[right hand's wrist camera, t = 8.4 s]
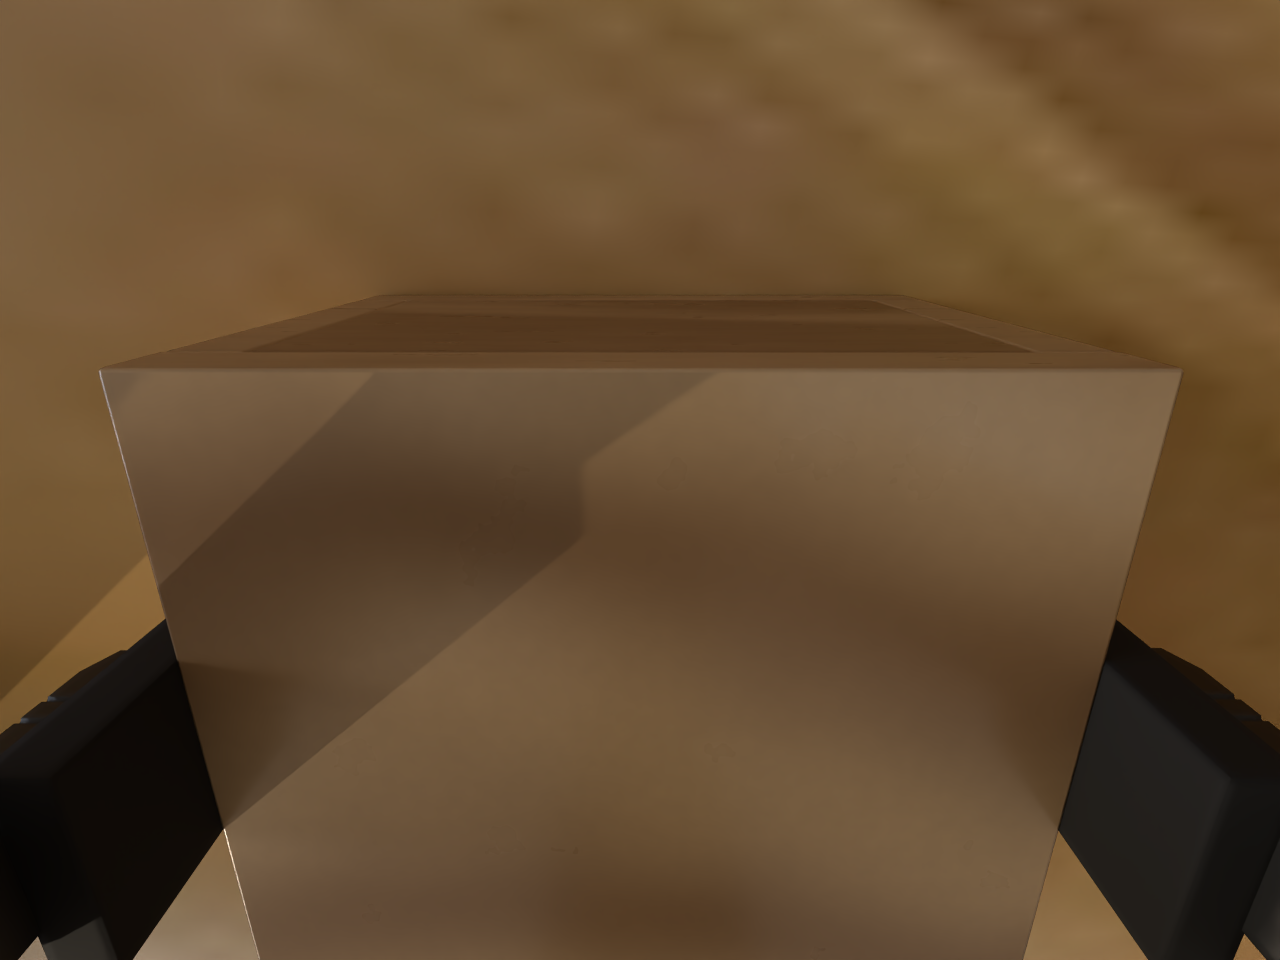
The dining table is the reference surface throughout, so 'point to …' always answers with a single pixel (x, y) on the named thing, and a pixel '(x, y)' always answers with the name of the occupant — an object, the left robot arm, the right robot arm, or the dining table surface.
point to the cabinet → (640, 616)
